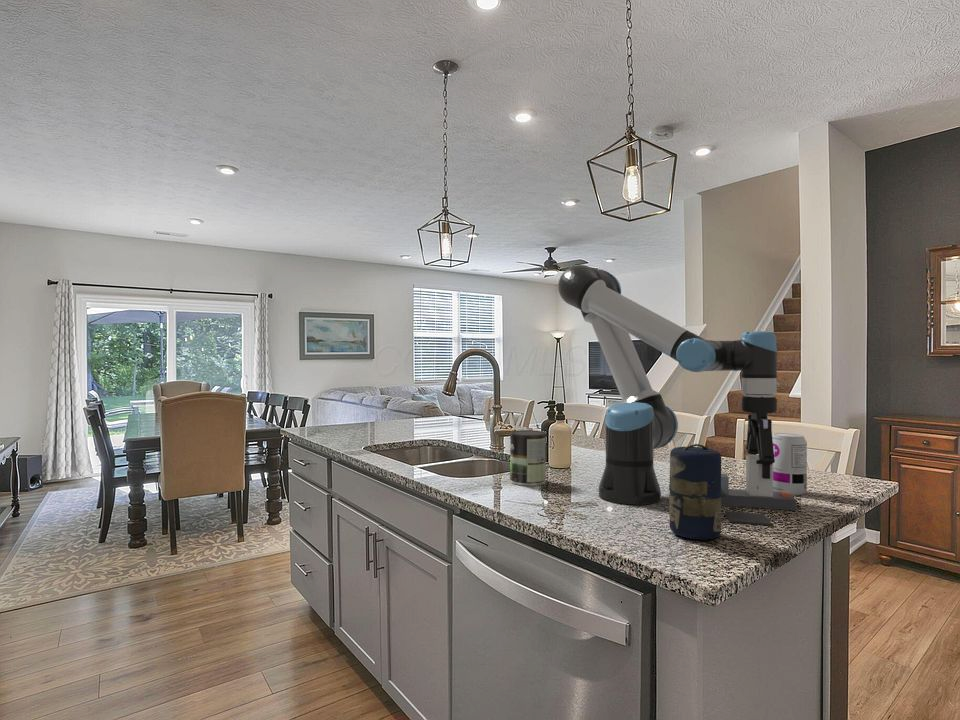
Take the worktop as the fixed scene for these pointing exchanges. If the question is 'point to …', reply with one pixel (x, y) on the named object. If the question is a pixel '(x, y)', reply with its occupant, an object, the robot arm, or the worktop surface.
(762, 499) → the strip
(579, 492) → the worktop surface
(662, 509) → the worktop surface
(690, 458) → the canister
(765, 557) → the worktop surface
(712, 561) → the worktop surface
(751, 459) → the block
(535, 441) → the coffee can
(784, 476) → the supplement can
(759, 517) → the mat
